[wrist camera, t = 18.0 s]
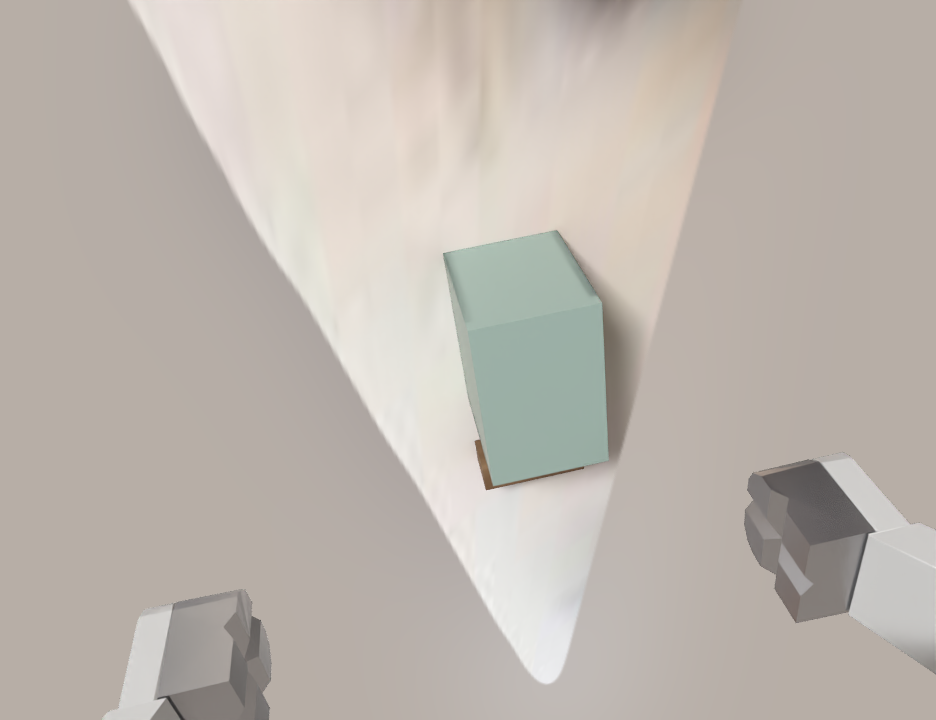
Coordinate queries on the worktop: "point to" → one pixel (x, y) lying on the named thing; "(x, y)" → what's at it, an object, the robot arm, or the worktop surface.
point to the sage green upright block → (530, 355)
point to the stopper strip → (489, 484)
